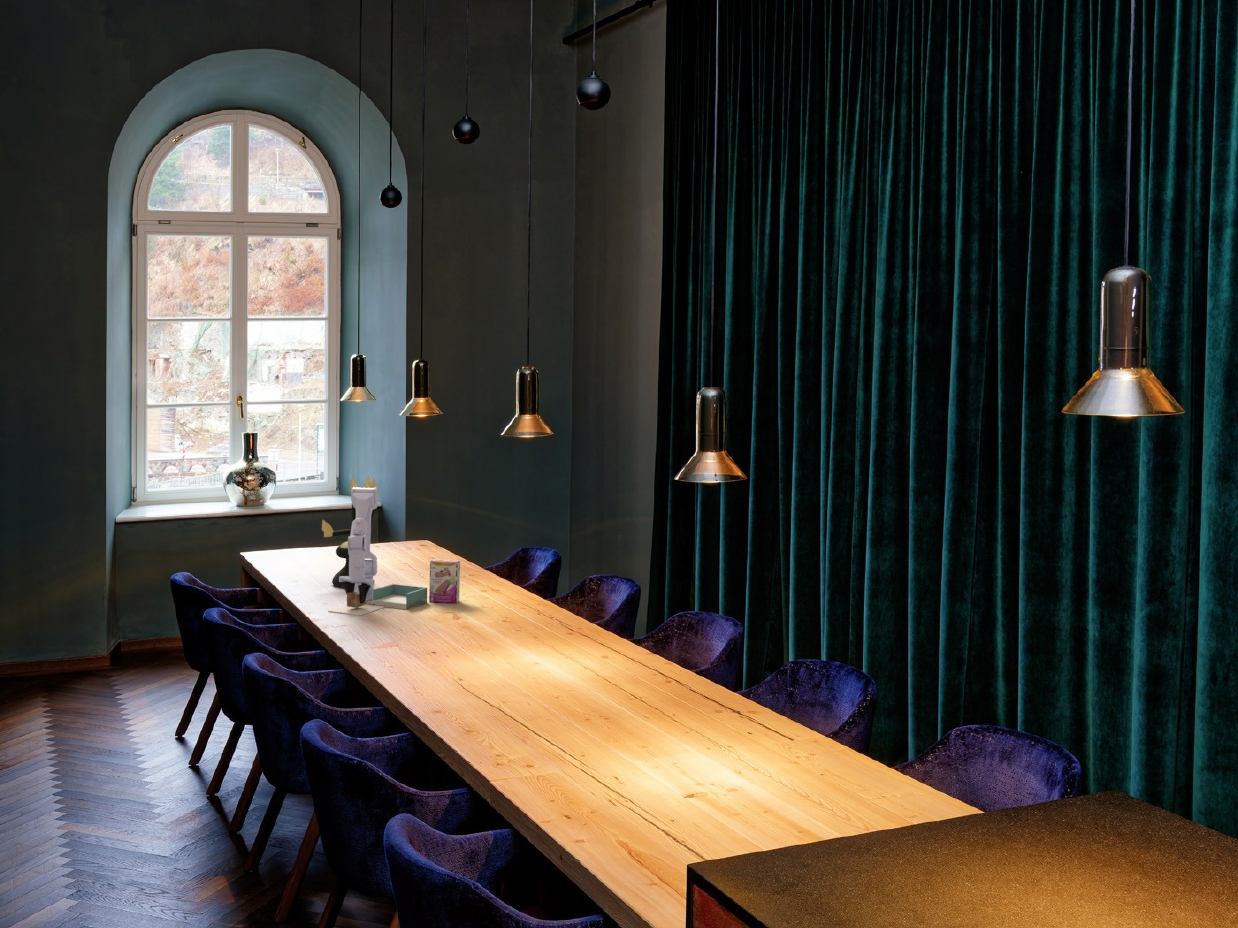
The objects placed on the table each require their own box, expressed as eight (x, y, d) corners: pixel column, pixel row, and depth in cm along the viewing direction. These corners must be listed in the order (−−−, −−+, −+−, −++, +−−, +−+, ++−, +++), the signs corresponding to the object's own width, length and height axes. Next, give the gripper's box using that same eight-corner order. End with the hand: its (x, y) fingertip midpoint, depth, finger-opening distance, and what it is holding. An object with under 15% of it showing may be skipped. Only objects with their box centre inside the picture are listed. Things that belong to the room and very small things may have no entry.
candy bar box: (428, 602, 466) (429, 560, 465) (432, 599, 471) (432, 558, 470) (456, 603, 465) (457, 562, 464) (459, 601, 470) (460, 560, 469)
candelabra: (319, 586, 491) (320, 477, 487) (351, 577, 512) (352, 473, 508) (358, 591, 484) (359, 480, 480) (388, 582, 505) (389, 476, 500)
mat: (328, 611, 444) (328, 610, 444) (353, 603, 459) (353, 602, 459) (359, 615, 439) (359, 614, 439) (384, 607, 454) (384, 606, 454)
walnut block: (346, 606, 447) (346, 593, 447) (356, 603, 453) (356, 590, 452) (356, 607, 445) (357, 594, 445) (366, 604, 451) (366, 591, 450)
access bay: (373, 605, 458) (373, 589, 458) (392, 598, 471) (393, 583, 470) (408, 609, 452) (408, 593, 452) (427, 602, 465) (427, 587, 465)
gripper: (334, 566, 447) (334, 602, 448) (367, 570, 441) (366, 606, 443) (345, 563, 453) (345, 598, 454) (377, 567, 448) (377, 602, 449)
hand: (356, 602), depth 449 cm, fingers closed on walnut block, 4 cm apart
